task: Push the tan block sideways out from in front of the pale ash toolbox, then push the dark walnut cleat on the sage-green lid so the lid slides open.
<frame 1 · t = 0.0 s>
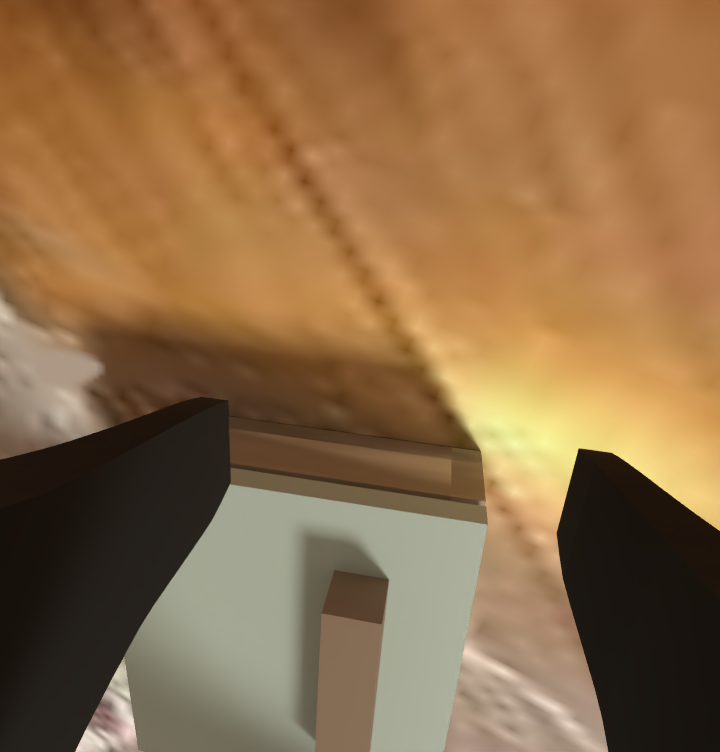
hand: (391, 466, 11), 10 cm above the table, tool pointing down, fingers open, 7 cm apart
toolbox: (310, 573, 26), on the table
lid: (276, 669, 21), point 5 cm above the table, slide at 0.0 cm
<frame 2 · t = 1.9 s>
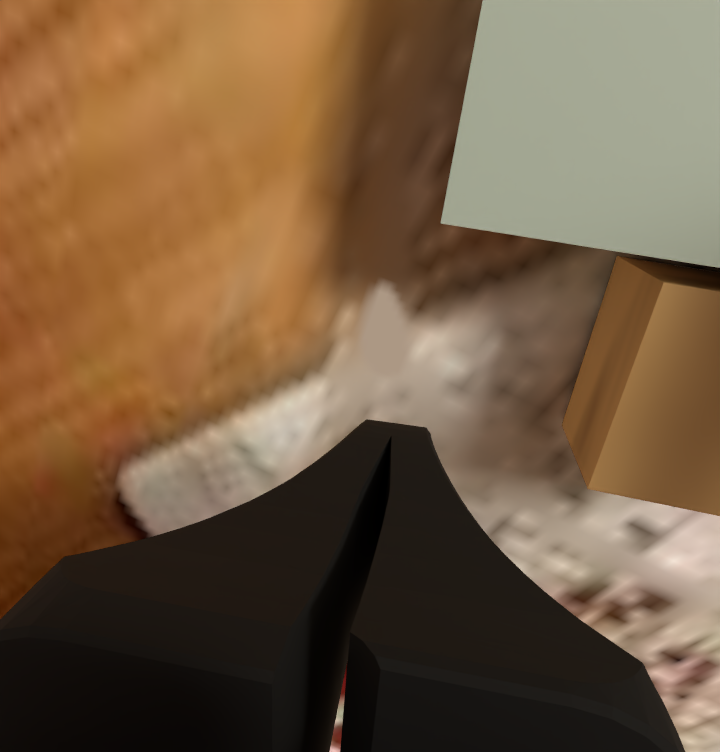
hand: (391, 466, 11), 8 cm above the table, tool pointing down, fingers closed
tan block: (690, 383, 15), point 2 cm above the table, slide at 0.0 cm
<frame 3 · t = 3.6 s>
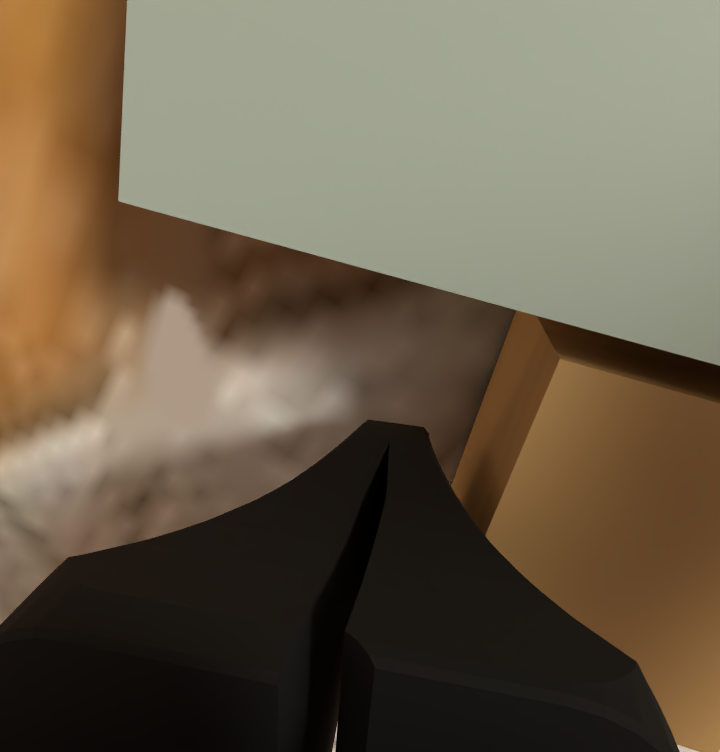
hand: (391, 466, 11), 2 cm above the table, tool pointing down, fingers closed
tan block: (610, 505, 10), point 2 cm above the table, slide at 0.4 cm, touching gripper
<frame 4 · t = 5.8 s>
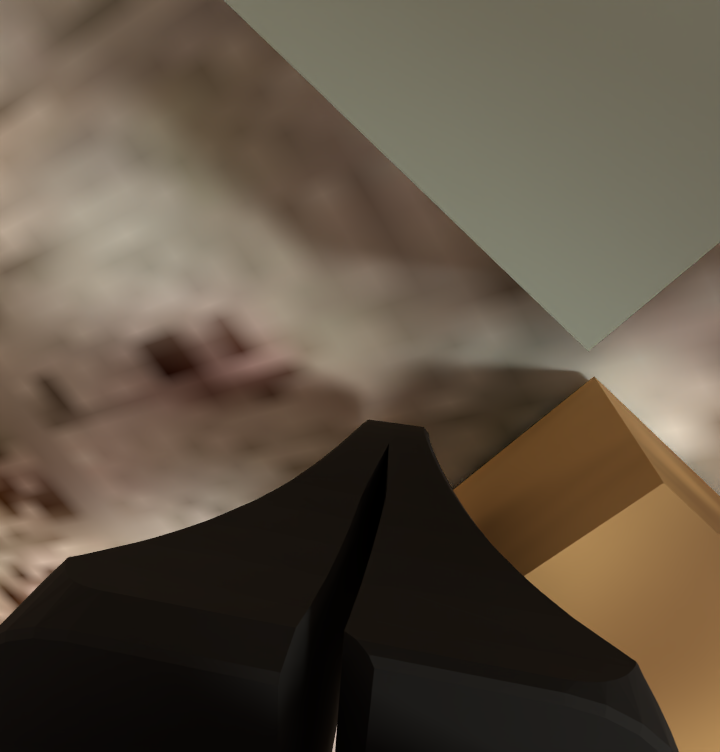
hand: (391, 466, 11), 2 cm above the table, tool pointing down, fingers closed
tan block: (581, 591, 11), point 2 cm above the table, slide at 12.9 cm, touching gripper
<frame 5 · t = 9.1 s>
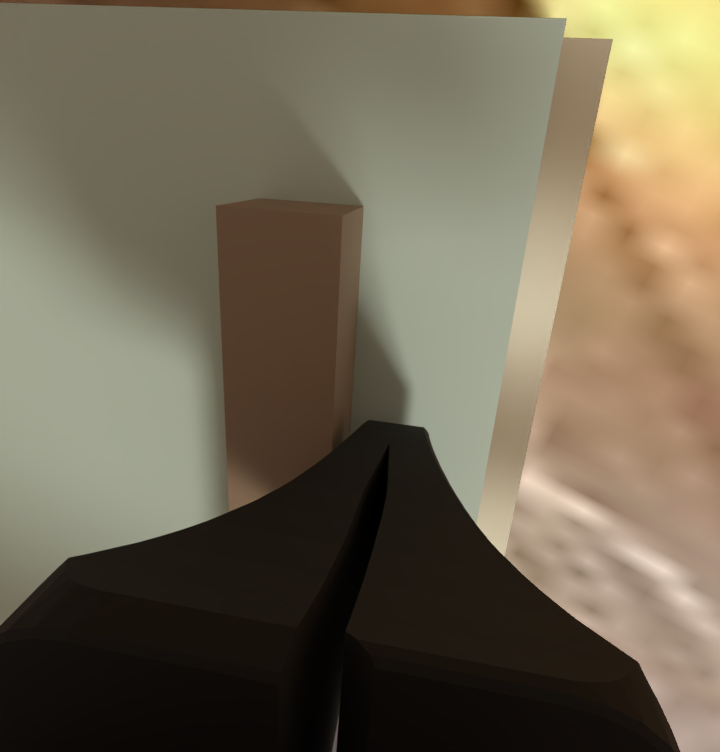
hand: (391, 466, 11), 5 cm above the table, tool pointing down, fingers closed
toolbox: (284, 355, 16), on the table
lid: (168, 429, 12), point 5 cm above the table, slide at 1.0 cm, touching gripper
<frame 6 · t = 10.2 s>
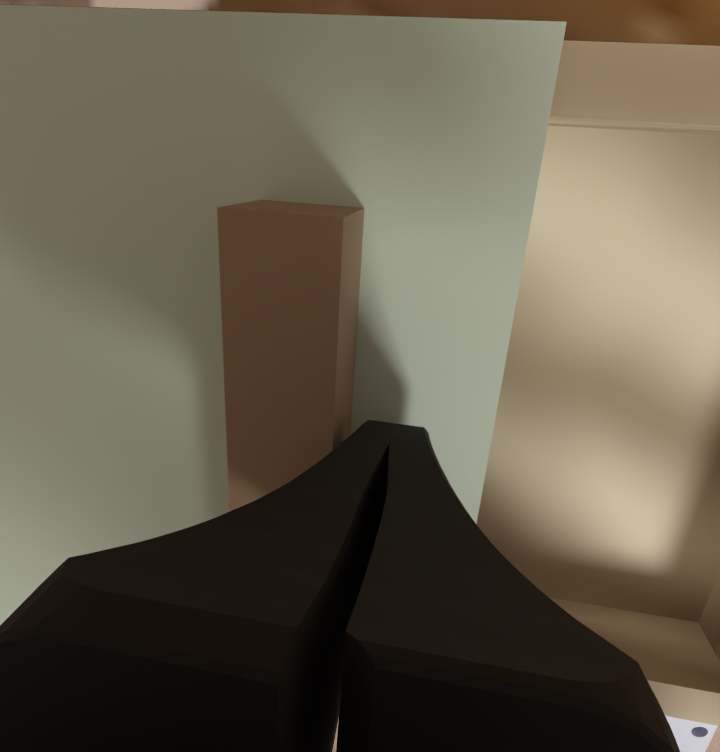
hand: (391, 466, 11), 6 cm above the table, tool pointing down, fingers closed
toolbox: (543, 386, 15), on the table
lid: (169, 430, 12), point 5 cm above the table, slide at 8.9 cm, touching gripper
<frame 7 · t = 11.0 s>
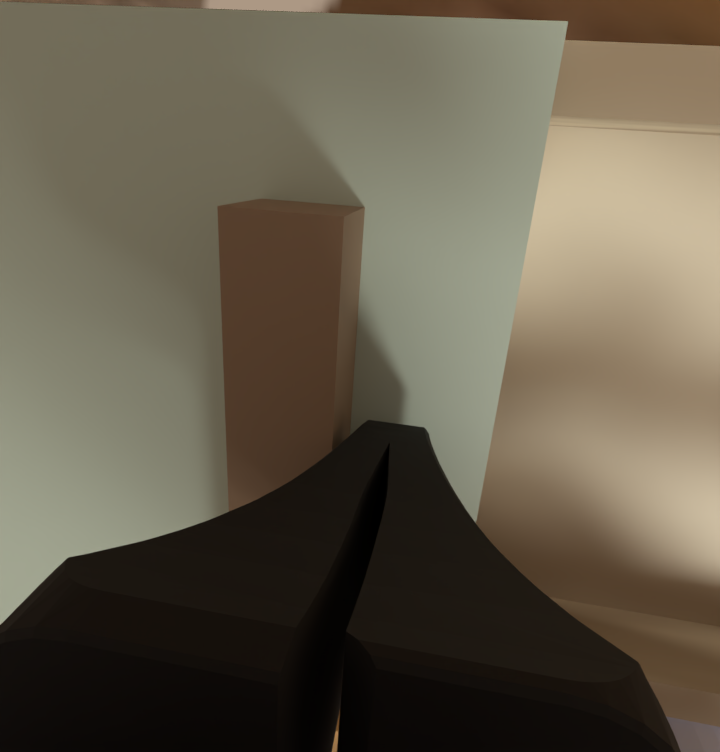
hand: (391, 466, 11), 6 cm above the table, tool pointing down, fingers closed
toolbox: (654, 400, 15), on the table
lid: (168, 428, 12), point 5 cm above the table, slide at 12.0 cm, touching gripper
tan block: (272, 706, 19), point 2 cm above the table, slide at 13.0 cm
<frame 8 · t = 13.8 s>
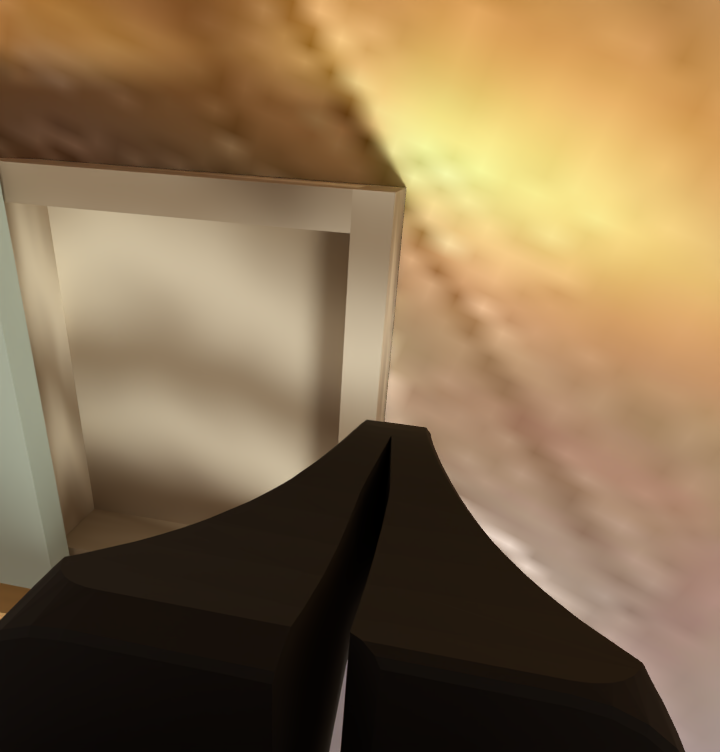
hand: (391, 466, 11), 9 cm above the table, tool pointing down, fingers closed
toolbox: (217, 380, 22), on the table
tan block: (6, 611, 26), point 2 cm above the table, slide at 13.0 cm
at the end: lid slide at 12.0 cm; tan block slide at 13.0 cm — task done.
